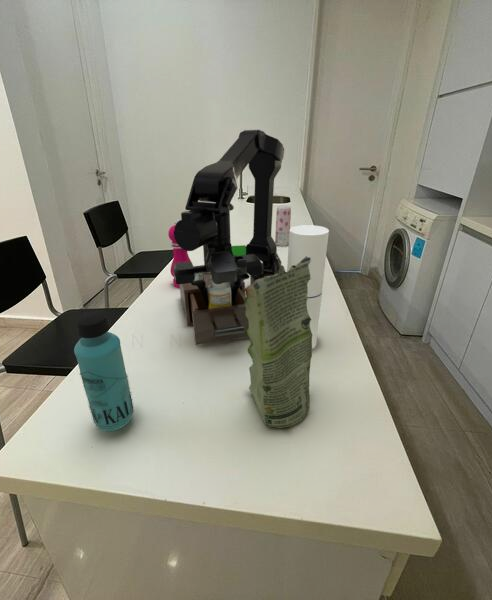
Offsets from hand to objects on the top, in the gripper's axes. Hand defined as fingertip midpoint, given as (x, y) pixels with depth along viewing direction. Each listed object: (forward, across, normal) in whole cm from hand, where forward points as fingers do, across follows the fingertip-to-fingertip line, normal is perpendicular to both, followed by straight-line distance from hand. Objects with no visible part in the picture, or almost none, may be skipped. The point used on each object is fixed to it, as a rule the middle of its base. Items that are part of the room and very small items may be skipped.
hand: (219, 303), depth 75 cm
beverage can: (+8, +38, +58) cm, 70 cm away
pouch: (+7, +4, -25) cm, 27 cm away
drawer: (+6, 0, -1) cm, 6 cm away
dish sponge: (+8, +17, +48) cm, 52 cm away
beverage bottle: (+7, -22, -23) cm, 33 cm away
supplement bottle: (+3, 0, 0) cm, 3 cm away
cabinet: (+7, 0, +12) cm, 14 cm away
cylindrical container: (+8, +16, -9) cm, 20 cm away
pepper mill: (+8, -5, +30) cm, 31 cm away
